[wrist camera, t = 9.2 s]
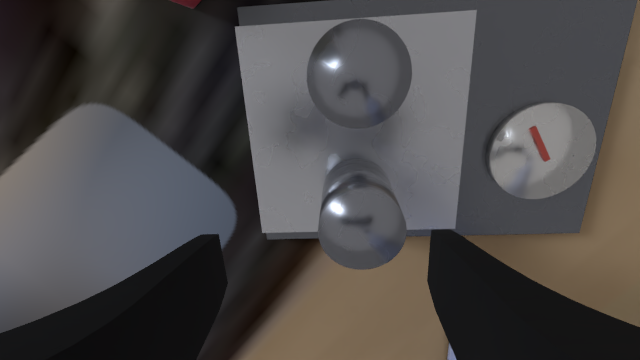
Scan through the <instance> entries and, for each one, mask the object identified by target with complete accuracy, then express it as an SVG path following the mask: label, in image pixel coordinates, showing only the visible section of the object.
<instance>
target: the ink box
mask: <svg viewBox="0 0 640 360" xmlns="http://www.w3.org/2000/svg"><path fill="white" fill-rule="evenodd" d="M170 1H172V2H175V3H178V4H181V5H183V6H186V7H189V8H192V9H194V8H195V7H196V6H197V5H198V4H199V2H200V1H201V0H170Z"/></svg>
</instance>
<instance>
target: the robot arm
mask: <svg viewBox="0 0 640 360" xmlns="http://www.w3.org/2000/svg"><path fill="white" fill-rule="evenodd" d="M427 281H428V285H429V289H430V293H431V296H432V300H433V303H434V307H435V310H436V312H437V315H438V317H439V319H440V322H441V324H442V327H443V329H444V331H445V334H446V336H447V338H448V341H449V348H448V358H447V360H640V327H637V326H635V325H632V324H629V323H627V322H624V321H621V320H619V319H616V318H614V317H611V316H609V315H606V314H604V313H601V312H599V311H597V310H594V309H592V308H589V307H587V306H585V305H582V304H580V303H578V302H576V301H573V300H571V299H569V298H567V297H565V296H563V295H561V294H559V293H557V292H555V291H553V290H551V289H549V288H547V287H544V286H543V285H541V284H539V283H537V282H535V281H533V280H531V279H529V278H528V277H526V276H524V275H523V274H521V273H519V272H517V271H516V270H514V269H512V268H510V267H509V266H507V265H505V264H504V263H502V262H501V261H499V260H497V259H496V258H494V257H493V256H491V255H490V254H488V253H486V252H485V251H483V250H482V249H480V248H479V247H477V246H476V245H474V244H473V243H471V242H470V241H468V240H467V239H465V238H464V237H462V236H461V235H459V234H458V233H456V232H454V231H453V230H451V229H434V230H431V240H430V253H429V266H428V279H427ZM227 284H228V282H227V277H226V271H225V266H224V261H223V255H222V250H221V245H220V239H219V235H218V234H207V235H200V236H198V237H196V238H194V239H192V240H191V241H189V242H187V243H185V244H183V245H182V246H180V247H179V248H177V249H175V250H174V251H172V252H171V253H169V254H167V255H166V256H164V257H162V258H161V259H159V260H158V261H156V262H154V263H153V264H151V265H149V266H148V267H146V268H144V269H142V270H141V271H139V272H137V273H135V274H134V275H132V276H130V277H128V278H127V279H125V280H123V281H121V282H120V283H118V284H116V285H114V286H112V287H110V288H108V289H106V290H104V291H103V292H100V293H98V294H96V295H94V296H92V297H90V298H88V299H86V300H83V301H81V302H79V303H77V304H74V305H72V306H70V307H67V308H65V309H63V310H60V311H58V312H55V313H53V314H50V315H48V316H46V317H43V318H41V319H38V320H36V321H33V322H31V323H28V324H25V325H23V326H20V327H17V328H14V329H12V330H9V331H6V332H3V333H0V360H196V359H197V357H198V354H199V352H200V350H201V348H202V346H203V344H204V342H205V340H206V338H207V336H208V333H209V331H210V329H211V327H212V325H213V323H214V321H215V318H216V316H217V314H218V312H219V310H220V307H221V304H222V301H223V298H224V294H225V291H226V287H227Z"/></svg>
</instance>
